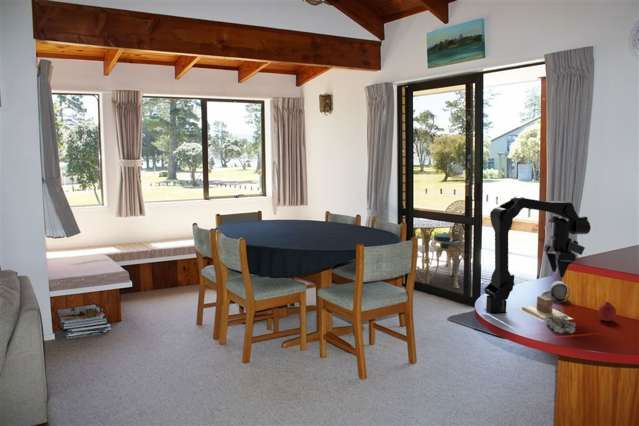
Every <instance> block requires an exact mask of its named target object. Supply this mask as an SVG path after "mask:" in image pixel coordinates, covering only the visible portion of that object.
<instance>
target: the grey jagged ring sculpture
mask: <svg viewBox="0 0 639 426" xmlns="http://www.w3.org/2000/svg"><path fill="white" fill-rule="evenodd" d="M546 319H547V321H546V325H547V326H549V328H550V329H553V331H554V332H556V333H559V334H564V333H568V334H570V336H571V335H572V336H573V335H574V333H575V332H576V327H577V323H576V322H571V321H570V320H565V319H564V318H562V319H560V318H559V317H557V318H556V317H552V316H551V317H548V316H546ZM563 325H564V327H563Z"/></svg>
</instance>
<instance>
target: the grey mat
mask: <svg viewBox="0 0 639 426" xmlns="http://www.w3.org/2000/svg"><path fill="white" fill-rule="evenodd" d="M515 309H516V310H517V311H520V312H522V313H525V314H526V315H528V316H530V317H532V318H534V319H536V320H538V321H540V322H543V323H545V322H546V321H547V320H542V319H540V318H538V317H536V316H534V315H532V314H530V313H528V312H526V311H524V310H522V307H516V308H515ZM564 319H565V321H570V320H574V318H572V317H570V316H568V317H567V318H564Z"/></svg>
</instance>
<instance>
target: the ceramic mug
mask: <svg viewBox="0 0 639 426" xmlns="http://www.w3.org/2000/svg"><path fill="white" fill-rule="evenodd" d="M563 282H564V281H562V280H561V281H560V280H557V281H553V282H552V283H551V284H550V286H549V290H547V291H545V292H543V293H541V295H540V296H546V297H548V298H550V299H553V301H556V300H557V299H558V300H562V302H566V301H568V300H569V299H570V297H571V289H570V287H569V285H568V284H567V283H566V284H567V285H566V284H564V283H565V282H564V283H563ZM566 287H567V288H568V289H569V296H568V297H567V298H566V299H565V297H566V294H567V288H566ZM563 299H564V300H563Z"/></svg>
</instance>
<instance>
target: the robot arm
mask: <svg viewBox="0 0 639 426" xmlns="http://www.w3.org/2000/svg"><path fill="white" fill-rule="evenodd" d="M523 209H528V210H536V211H542V212H547V213H548V214H552V215H553V216H552V217H551V218H550V219H548V222H550V223H553V229H552V230H553V231H552V235H551V236H550V239H552V241H551V244H549V243H547V244H546V245H545V246H544V249H543V251H544V252H545V253H544V254H545V256H546V258H547V260H548V263H549V267H550V268H551V271H552V273H556V271H558V276H559V278H564V277H565V274H566V272H567V269H568V268H569V265H571V264H573V263H574V262H576V260H577V255H576V254H575V253H577V254H578V255H579V256H582V255H583V252H584V250H585V249H586V247H584V245H583V246H582V245H580V244H579V241H577V240H575V239H572V238H571V237H570V234H571V235H588V234H590V231H591V229H592V227H591V223H590V222H589V220H588V216H583V215H582V216H579V215H578V213H577V212H576V210H575V206H574V204H573V203H572V202H570V201H569V202H568V201H563V200H551V201H550V200H549V201H546V200H540V199H539V200H537V199H533V198H532V199H531V198H525V197H523V196H522V197H521V196H514V197H513V198H511V199H510V200H508V201H507V202H506V201H505V202H503V203H502V204H501V205H499V206H497V207H494V208H493V209H492V210H491V211H490V214H489V219H490V223H491V226H492V227H493V231H494V270H493V272H492V274H491V279H490V282H489V283H488V284H487V286H485V287H484V289H483V291H484V294H485V295H487V296H486V302H485V303H486V306H485V308H484V309H483V310H484V311H486V312H488V313H489V314H492V315H500V314H502V315H503V314H508V312H507V305H508V304H507V302H508V301H507V300H508V299H509V296H510V294H511V292H512V291H513V289H514V287H515V286H516V285H515V275H514V274H513V273H511V272H510V270H509V232H510V230H511V228H512V226H513V222H514V221H513V220H514V219H515V218H516V217H517V216H518V215H519V214H520V213H521V211H522V210H523Z"/></svg>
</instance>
